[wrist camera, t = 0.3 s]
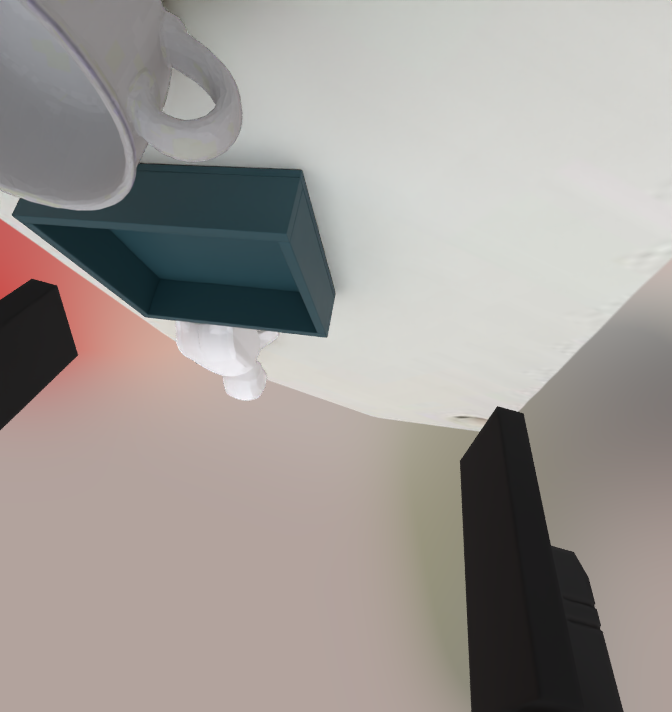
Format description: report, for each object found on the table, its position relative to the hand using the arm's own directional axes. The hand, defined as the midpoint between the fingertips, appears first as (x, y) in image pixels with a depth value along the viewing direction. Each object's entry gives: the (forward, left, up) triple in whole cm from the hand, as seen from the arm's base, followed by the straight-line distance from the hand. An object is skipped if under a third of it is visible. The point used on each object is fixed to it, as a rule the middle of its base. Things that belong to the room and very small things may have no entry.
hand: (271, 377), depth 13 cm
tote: (+15, -13, -15) cm, 25 cm away
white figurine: (+32, -17, -15) cm, 40 cm away
